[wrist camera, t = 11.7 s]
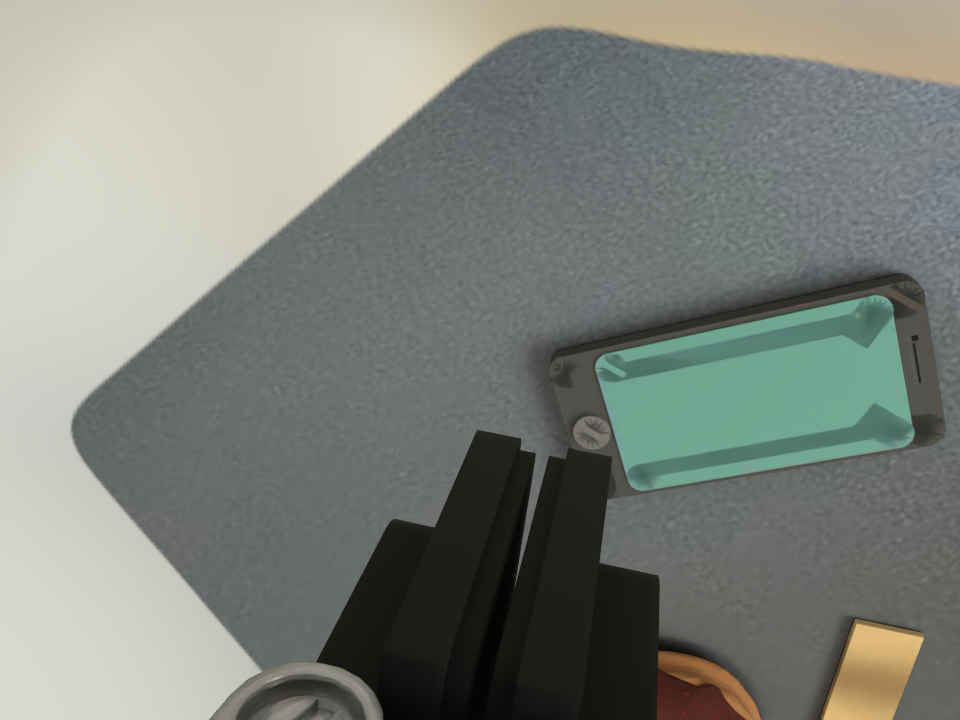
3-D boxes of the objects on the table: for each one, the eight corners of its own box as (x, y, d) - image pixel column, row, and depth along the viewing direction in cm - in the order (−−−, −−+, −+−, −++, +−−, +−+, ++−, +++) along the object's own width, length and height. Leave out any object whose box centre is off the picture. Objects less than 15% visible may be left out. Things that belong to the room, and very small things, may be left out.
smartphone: (544, 362, 38) (923, 279, 33) (548, 351, 39) (915, 269, 34) (589, 509, 40) (950, 449, 35) (592, 494, 41) (942, 435, 36)
